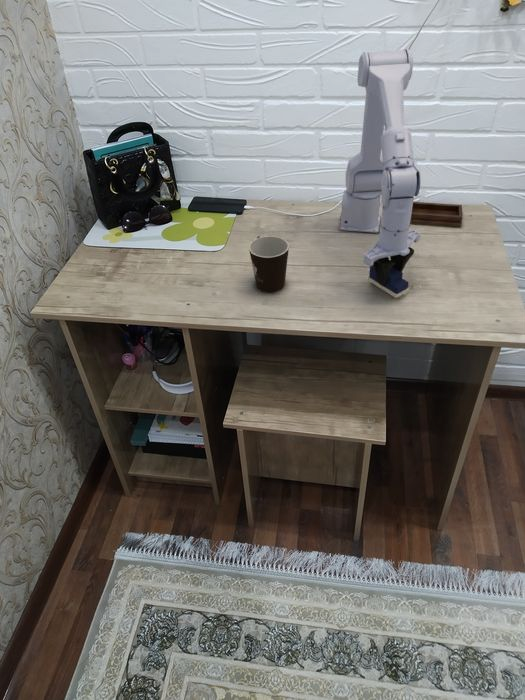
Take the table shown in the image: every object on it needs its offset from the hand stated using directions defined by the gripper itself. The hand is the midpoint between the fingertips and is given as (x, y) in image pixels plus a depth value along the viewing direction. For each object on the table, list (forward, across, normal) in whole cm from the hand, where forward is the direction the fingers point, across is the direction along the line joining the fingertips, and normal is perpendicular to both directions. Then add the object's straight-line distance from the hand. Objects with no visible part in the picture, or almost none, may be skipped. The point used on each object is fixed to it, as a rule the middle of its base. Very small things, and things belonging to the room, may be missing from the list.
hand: (388, 280), depth 124 cm
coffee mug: (+3, -17, +20) cm, 26 cm away
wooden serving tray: (+3, +31, +15) cm, 35 cm away
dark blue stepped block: (+1, 0, 0) cm, 1 cm away
